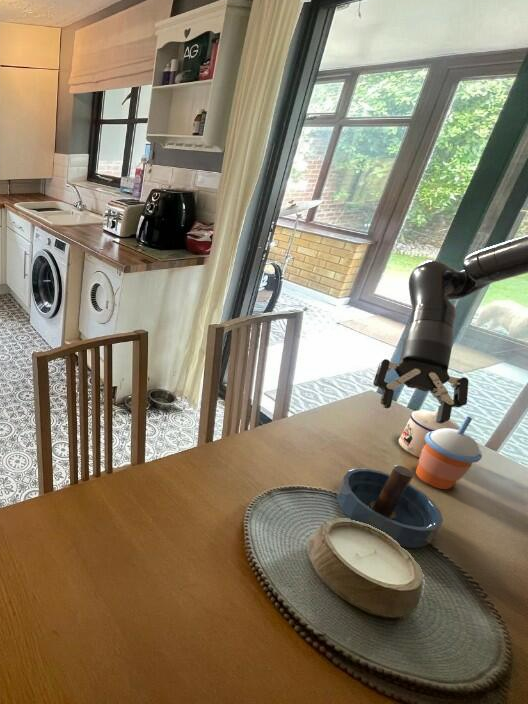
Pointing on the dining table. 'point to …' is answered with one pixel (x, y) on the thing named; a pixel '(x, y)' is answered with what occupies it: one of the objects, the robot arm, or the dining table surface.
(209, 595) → the dining table surface
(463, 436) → the cup with straw
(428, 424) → the teacup with lid
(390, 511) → the brown wooden cylinder
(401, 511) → the bowl
